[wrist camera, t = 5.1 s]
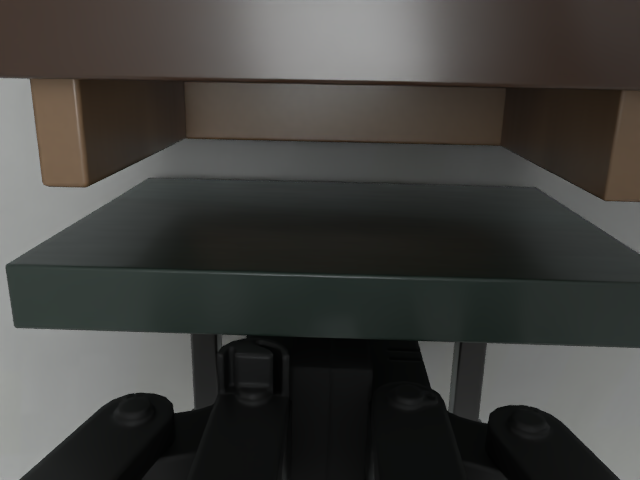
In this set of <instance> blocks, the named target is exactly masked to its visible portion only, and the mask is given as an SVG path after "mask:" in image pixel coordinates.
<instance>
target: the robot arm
mask: <svg viewBox="0 0 640 480" xmlns="http://www.w3.org/2000/svg"><path fill="white" fill-rule="evenodd" d="M217 381H218V394H217V397H216V400H215V402H214V404H212V405H210V406H207V407H204V408H201V409H197V410H192V411H187V412H180V413H174V410H173V404H172V403H171V402H170V401H169V400H168V399H167V398H166V397H163V396H160V395H157V394H152V393H136V394H134V393H133V394H128V395H125V396H122V397H119V398H117V399H114V400H112V401H110V402H109V403H107V404H106V405H104V406H102V407H101V408H100V409H99V410H98V411H97V412H96V413H94V414H93V415H92V416H91V417H90V418H89V419H88V420H87V421H85V422H84V423H83V424H82V425H81V426H80V427H79V428H77V429H76V430H75V431H74V432H73V433H72V434H71V435H70V436H68V437H67V438H66V439H65V440H64V441H63V442H62V443H60V444H59V445H58V446H57V447H56V448H55V449H54V450H53V451H51V452H50V453H49V454H48V455H47V456H46V457H45V458H43V459H42V460H41V461H40V462H39V463H38V464H37V465H36V466H34V467H33V468H32V469H31V470H30V471H29V472H28V473H27V474H25V475H24V476H23V477H22V478H21V479H20V480H620V479H619V478H618V477H617V476H616V475H615V474H614V473H613V472H612V471H611V470H610V469H609V468H608V467H607V466H606V465H605V464H604V463H603V462H602V461H601V460H600V459H599V458H598V457H597V456H596V455H595V454H594V453H593V452H592V451H591V450H590V449H589V448H588V447H587V446H585V445H584V444H583V443H582V442H581V441H580V440H579V439H578V438H577V437H576V436H575V435H574V434H573V433H572V432H571V431H570V430H569V429H568V428H567V427H566V426H565V425H564V424H563V423H562V422H561V421H559V420H558V419H557V418H555V417H554V416H552V415H551V414H549V413H546V412H544V411H542V410H539V409H537V408H534V407H528V406H524V405H508V406H504V407H500V408H497V409H495V410H494V411H493V412H492V413H490V416H489V421H488V424H486V423H482V422H477V421H473V420H469V419H466V418H463V417H459V416H457V415H455V414H453V413H450V412H449V411H447V409H446V406H445V403H444V400H443V399H442V397H441V396H440V394H439V393H437V392H436V391H434V390H433V389H431V387H430V383H429V379H428V376H427V372H426V369H425V365H424V362H423V358H422V354H421V352H420V347H419V344H418V341H409V340H377V339H346V338H315V337H284V336H252V335H247V337H246V339H241V340H237V341H233V342H230V343H228V344H226V345H224V346H222V347H221V349H220V350H219V351H218V352H217Z"/></svg>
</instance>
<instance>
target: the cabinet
mask: <svg viewBox="0 0 640 480" xmlns="http://www.w3.org/2000/svg"><path fill="white" fill-rule="evenodd" d="M0 78H27V79H77V80H127V81H177V82H226V83H276V84H326V85H376V86H426V87H476V88H526V89H576V90H625V91H640V0H0Z"/></svg>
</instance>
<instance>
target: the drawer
mask: <svg viewBox="0 0 640 480" xmlns="http://www.w3.org/2000/svg"><path fill="white" fill-rule="evenodd" d="M30 83H31V92H32V100H33V108H34V116H35V124H36V133H37V141H38V149H39V157H40V166H41V174H42V182H43V184H44V185H46V186H49V187H88V186H90V185H92V184H94V183H96V182H98V181H100V180H102V179H104V178H106V177H108V176H110V175H112V174H114V173H116V172H118V171H121V170H123V169H125V168H127V167H129V166H131V165H133V164H135V163H137V162H139V161H141V160H143V159H145V158H147V157H149V156H151V155H153V154H155V153H157V152H159V151H161V150H163V149H165V148H167V147H169V146H171V145H173V144H175V143H177V142H179V141H181V140H183V139H223V140H267V141H311V142H355V143H399V144H443V145H487V146H502V147H504V148H506V149H508V150H510V151H511V152H513V153H515V154H517V155H519V156H521V157H523V158H525V159H527V160H529V161H530V162H532V163H534V164H536V165H538V166H540V167H542V168H544V169H546V170H547V171H549V172H551V173H553V174H555V175H557V176H559V177H561V178H563V179H565V180H566V181H568V182H570V183H572V184H574V185H576V186H578V187H580V188H582V189H583V190H585V191H587V192H589V193H591V194H593V195H595V196H597V197H599V198H601V199H602V200H604V201H622V202H640V91H625V90H576V89H526V88H476V87H426V86H376V85H326V84H276V83H226V82H177V81H127V80H77V79H30ZM6 274H7V281H8V287H9V294H10V301H11V308H12V315H13V322H14V326H15V327H16V328H34V329H65V330H96V331H127V332H159V333H190V334H191V349H192V369H193V388H194V409H192V410H197V409H201V408H204V407H207V406H210V405H212V404H214V402H215V400H216V397H217V394H218V381H217V352H218V351H219V350H220V349H221V347H222V335H252V336H284V337H315V338H346V339H377V340H409V341H440V342H455V343H454V353H453V364H452V375H451V385H450V396H449V407H448V411H449V412H450V413H453V414H455V415H457V416H459V417H463V418H466V419H469V420H473V421H477V422H481V420H480V419H478V418H479V409H480V400H481V391H482V382H483V373H484V364H485V355H486V346H487V343H502V344H534V345H565V346H596V347H627V348H640V254H638V253H637V252H635V251H634V250H632V249H631V248H629V247H628V246H626V245H624V244H623V243H621V242H620V241H618V240H617V239H615V238H614V237H612V236H611V235H609V234H607V233H606V232H604V231H603V230H601V229H600V228H598V227H597V226H595V225H593V224H592V223H590V222H589V221H587V220H586V219H584V218H583V217H581V216H580V215H578V214H576V213H575V212H573V211H572V210H570V209H569V208H567V207H566V206H564V205H562V204H561V203H559V202H558V201H556V200H555V199H553V198H552V197H550V196H549V195H547V194H545V193H544V192H542V191H541V190H539V189H538V188H536V187H500V186H459V185H418V184H378V183H337V182H297V181H256V180H216V179H175V178H148V179H147V180H145V181H143V182H142V183H140V184H138V185H137V186H135V187H133V188H132V189H130V190H129V191H127V192H125V193H124V194H122V195H120V196H119V197H117V198H115V199H114V200H112V201H110V202H109V203H107V204H105V205H104V206H102V207H100V208H99V209H97V210H96V211H94V212H92V213H91V214H89V215H87V216H86V217H84V218H82V219H81V220H79V221H77V222H76V223H74V224H72V225H71V226H69V227H68V228H66V229H64V230H63V231H61V232H59V233H58V234H56V235H54V236H53V237H51V238H49V239H48V240H46V241H44V242H43V243H41V244H39V245H38V246H36V247H35V248H33V249H31V250H30V251H28V252H26V253H25V254H23V255H21V256H20V257H18V258H16V259H15V260H13V261H11V262H10V263H8V264H7V265H6Z"/></svg>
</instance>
